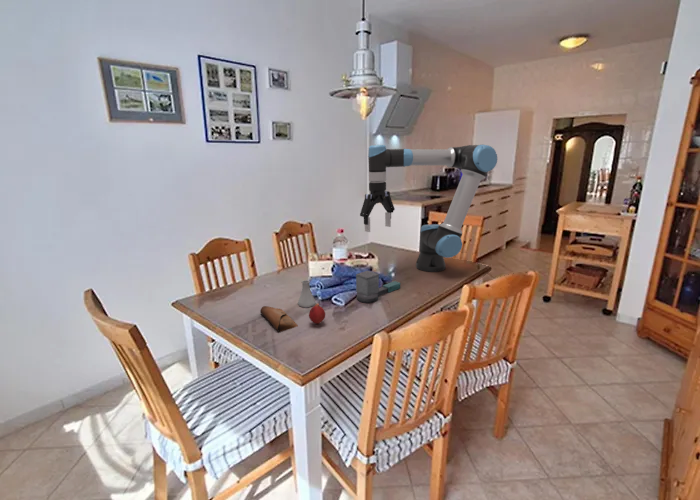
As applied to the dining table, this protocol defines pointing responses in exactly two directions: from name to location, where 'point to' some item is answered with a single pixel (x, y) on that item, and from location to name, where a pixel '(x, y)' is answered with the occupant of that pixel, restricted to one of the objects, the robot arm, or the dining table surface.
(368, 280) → the rounded charcoal cube
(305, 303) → the flask
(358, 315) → the dining table surface
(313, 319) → the onion
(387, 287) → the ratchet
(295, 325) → the sunglasses case
